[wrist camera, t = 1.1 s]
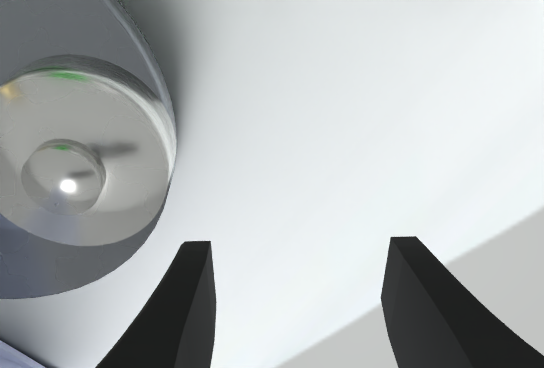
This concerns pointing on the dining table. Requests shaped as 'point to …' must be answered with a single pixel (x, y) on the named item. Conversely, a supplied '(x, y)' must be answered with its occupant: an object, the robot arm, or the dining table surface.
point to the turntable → (79, 41)
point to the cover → (82, 151)
